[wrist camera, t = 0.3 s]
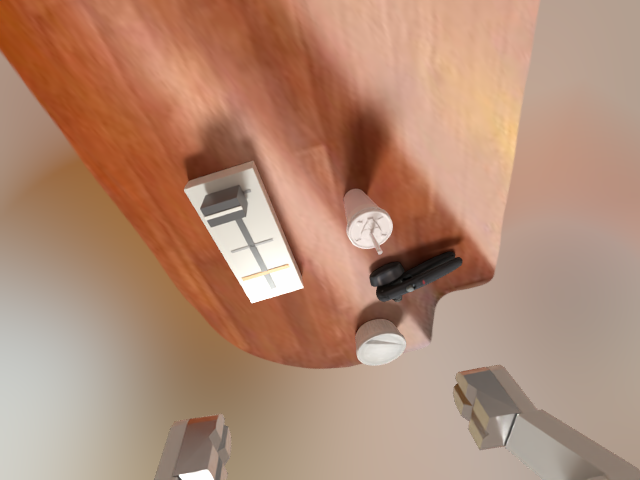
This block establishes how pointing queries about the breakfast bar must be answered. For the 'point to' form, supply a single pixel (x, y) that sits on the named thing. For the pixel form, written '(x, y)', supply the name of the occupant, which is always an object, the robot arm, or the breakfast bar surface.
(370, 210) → the smoothie
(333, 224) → the breakfast bar surface
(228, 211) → the fader knob
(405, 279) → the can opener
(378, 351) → the ramekin
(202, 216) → the fader console
